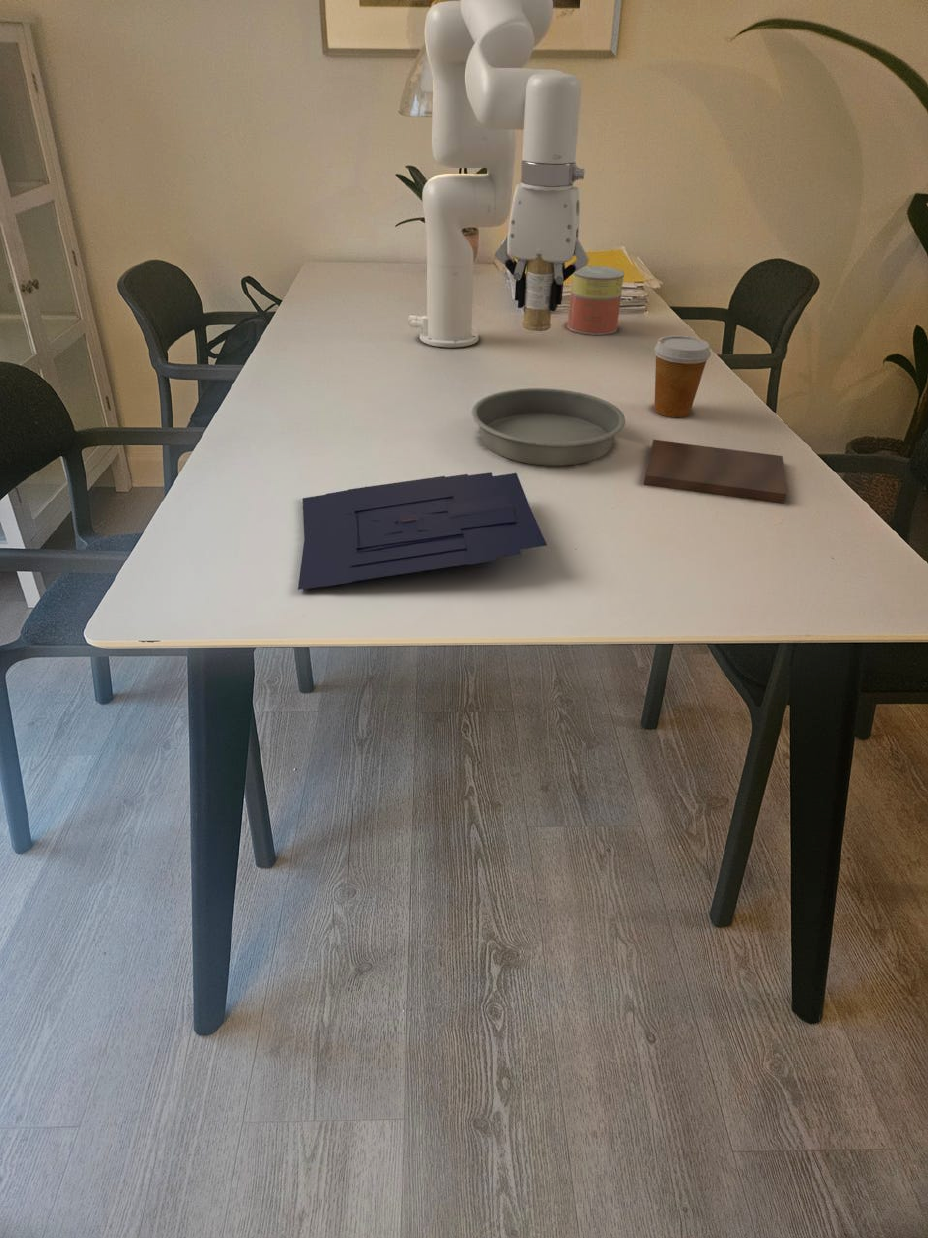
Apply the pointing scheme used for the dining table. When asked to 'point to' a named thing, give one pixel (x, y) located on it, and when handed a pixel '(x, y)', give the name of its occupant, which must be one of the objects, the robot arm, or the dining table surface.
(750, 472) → the walnut serving board
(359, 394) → the dining table surface
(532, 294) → the sprinkles bottle
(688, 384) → the disposable coffee cup
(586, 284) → the canned food
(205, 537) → the dining table surface
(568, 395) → the cake pan
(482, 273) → the dining table surface
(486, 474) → the papers
